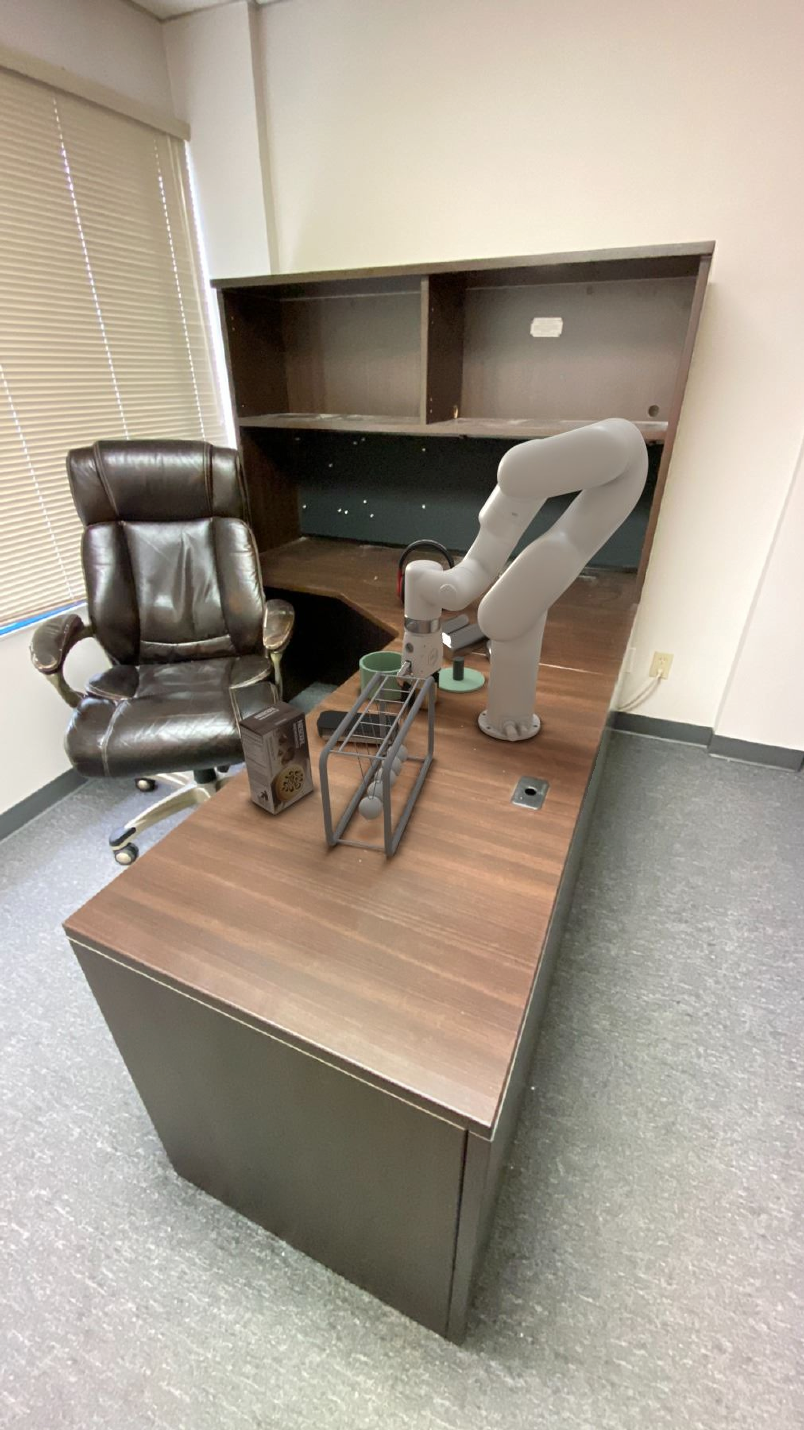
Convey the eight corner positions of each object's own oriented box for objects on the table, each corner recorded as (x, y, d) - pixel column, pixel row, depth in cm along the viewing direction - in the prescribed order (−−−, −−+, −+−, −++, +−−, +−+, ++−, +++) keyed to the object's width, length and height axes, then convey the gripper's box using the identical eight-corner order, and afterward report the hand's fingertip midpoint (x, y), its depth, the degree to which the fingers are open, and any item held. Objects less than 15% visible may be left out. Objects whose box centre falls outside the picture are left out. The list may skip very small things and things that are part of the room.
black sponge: (314, 743, 120) (312, 727, 119) (325, 721, 128) (324, 706, 126) (395, 750, 118) (395, 734, 116) (402, 727, 125) (402, 712, 123)
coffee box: (290, 776, 111) (280, 699, 103) (314, 790, 107) (306, 710, 99) (250, 801, 105) (236, 720, 97) (274, 816, 101) (262, 733, 93)
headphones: (455, 601, 192) (458, 537, 182) (451, 612, 184) (453, 545, 174) (401, 598, 195) (400, 535, 185) (395, 608, 187) (393, 543, 177)
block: (436, 703, 134) (437, 683, 132) (426, 711, 131) (426, 690, 129) (420, 698, 136) (420, 678, 134) (409, 706, 133) (409, 685, 131)
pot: (412, 702, 135) (412, 671, 131) (360, 703, 134) (359, 673, 131) (409, 679, 145) (409, 650, 141) (361, 680, 144) (359, 651, 140)
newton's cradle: (391, 863, 91) (388, 766, 82) (325, 852, 93) (316, 755, 85) (434, 755, 116) (435, 672, 107) (381, 748, 118) (378, 666, 110)
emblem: (433, 603, 175) (532, 609, 170) (433, 621, 177) (530, 627, 172) (415, 641, 151) (529, 649, 146) (415, 660, 154) (527, 669, 149)
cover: (488, 694, 138) (490, 669, 134) (434, 696, 137) (434, 671, 134) (479, 670, 148) (481, 647, 145) (429, 672, 148) (429, 648, 145)
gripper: (414, 640, 116) (412, 717, 125) (459, 614, 129) (454, 685, 137) (383, 631, 120) (383, 707, 129) (429, 606, 132) (426, 676, 141)
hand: (420, 695), depth 133 cm, fingers open, 9 cm apart
